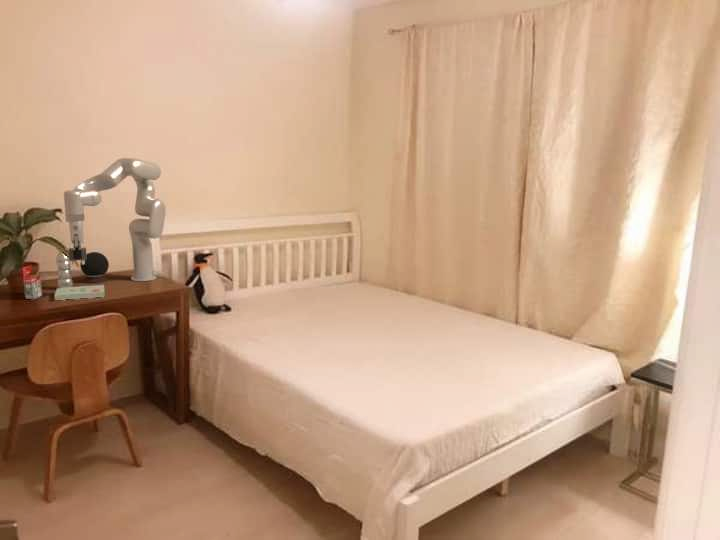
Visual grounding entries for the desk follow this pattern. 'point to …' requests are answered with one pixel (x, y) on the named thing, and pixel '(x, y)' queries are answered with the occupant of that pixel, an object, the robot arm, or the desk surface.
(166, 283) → the desk surface
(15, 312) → the desk surface
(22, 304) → the desk surface
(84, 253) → the plug
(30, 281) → the ink box
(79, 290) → the pale green book
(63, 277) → the plastic bottle
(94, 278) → the round black speaker
